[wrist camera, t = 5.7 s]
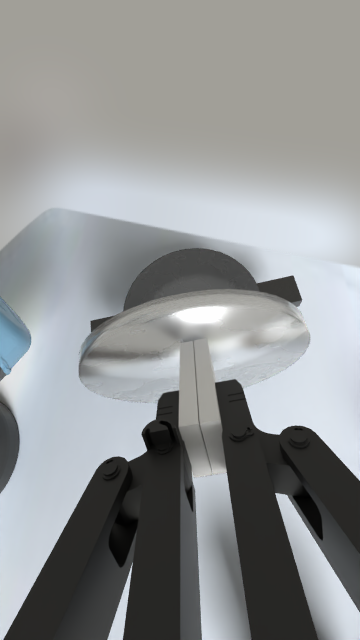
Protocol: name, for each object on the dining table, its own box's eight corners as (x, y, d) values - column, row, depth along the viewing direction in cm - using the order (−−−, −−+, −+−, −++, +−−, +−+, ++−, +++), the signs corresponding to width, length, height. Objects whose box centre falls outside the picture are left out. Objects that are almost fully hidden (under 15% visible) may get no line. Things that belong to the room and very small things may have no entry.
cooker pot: (125, 407, 40) (92, 400, 31) (115, 305, 45) (85, 273, 36) (301, 373, 38) (323, 354, 28) (268, 270, 43) (278, 226, 34)
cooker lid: (128, 402, 31) (128, 414, 30) (25, 328, 16) (22, 349, 16) (287, 370, 29) (291, 382, 28) (329, 259, 15) (339, 279, 14)
